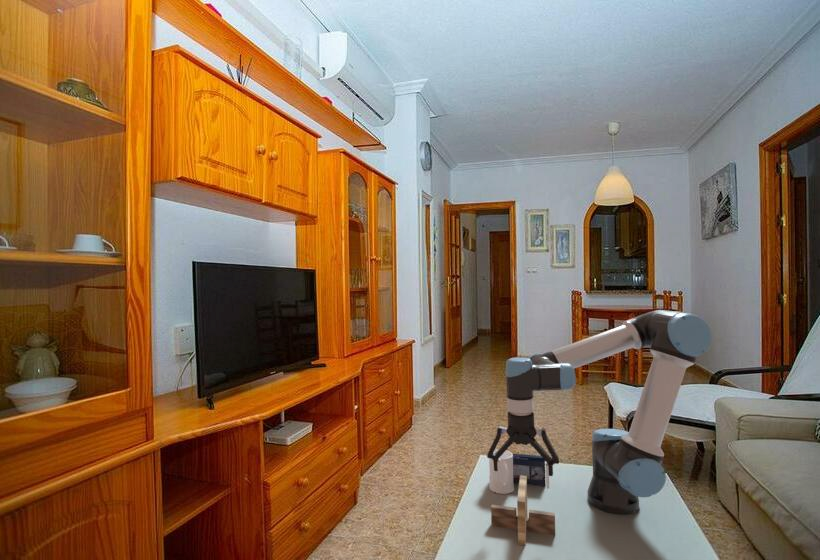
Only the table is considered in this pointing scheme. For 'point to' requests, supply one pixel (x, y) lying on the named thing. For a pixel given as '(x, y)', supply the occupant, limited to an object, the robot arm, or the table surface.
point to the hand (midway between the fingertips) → (523, 484)
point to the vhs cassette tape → (529, 469)
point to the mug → (506, 474)
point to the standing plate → (534, 523)
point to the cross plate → (522, 510)
